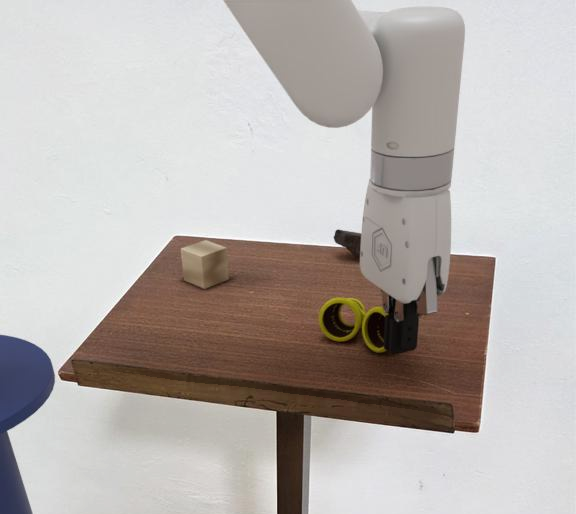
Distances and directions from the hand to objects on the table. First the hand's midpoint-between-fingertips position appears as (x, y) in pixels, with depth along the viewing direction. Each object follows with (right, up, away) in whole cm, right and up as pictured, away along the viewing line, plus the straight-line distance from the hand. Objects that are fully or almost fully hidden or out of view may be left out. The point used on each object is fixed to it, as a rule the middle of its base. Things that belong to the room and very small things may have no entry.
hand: (400, 349), depth 80 cm
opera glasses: (-3, +2, +6) cm, 7 cm away
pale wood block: (-23, +14, +21) cm, 34 cm away
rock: (0, +18, +26) cm, 32 cm away
